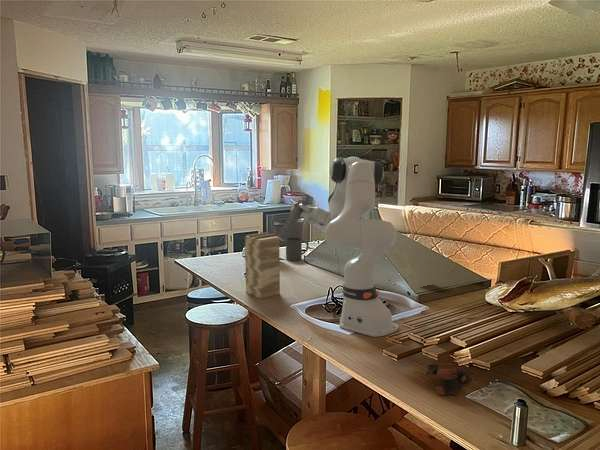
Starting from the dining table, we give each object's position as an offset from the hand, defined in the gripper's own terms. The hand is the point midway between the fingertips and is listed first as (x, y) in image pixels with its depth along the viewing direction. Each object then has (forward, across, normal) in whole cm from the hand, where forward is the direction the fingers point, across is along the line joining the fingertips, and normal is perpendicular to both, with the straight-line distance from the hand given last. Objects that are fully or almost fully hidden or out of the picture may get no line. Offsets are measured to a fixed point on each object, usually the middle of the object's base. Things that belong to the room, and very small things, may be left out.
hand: (297, 204), depth 223 cm
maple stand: (-2, 0, +43) cm, 43 cm away
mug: (-48, -41, +17) cm, 66 cm away
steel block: (-2, 0, +8) cm, 8 cm away
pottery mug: (+8, +102, +49) cm, 114 cm away
